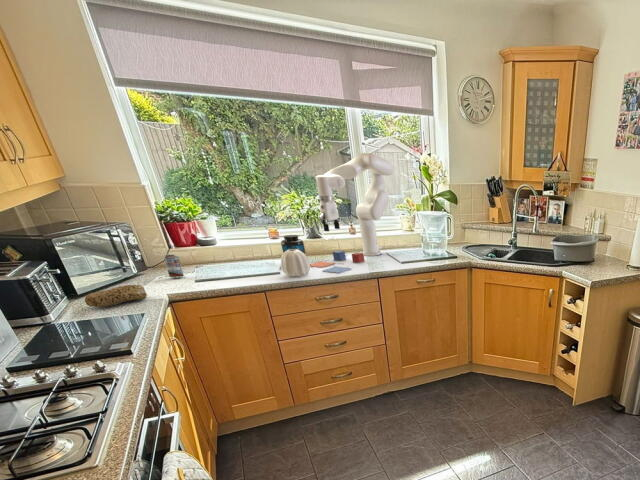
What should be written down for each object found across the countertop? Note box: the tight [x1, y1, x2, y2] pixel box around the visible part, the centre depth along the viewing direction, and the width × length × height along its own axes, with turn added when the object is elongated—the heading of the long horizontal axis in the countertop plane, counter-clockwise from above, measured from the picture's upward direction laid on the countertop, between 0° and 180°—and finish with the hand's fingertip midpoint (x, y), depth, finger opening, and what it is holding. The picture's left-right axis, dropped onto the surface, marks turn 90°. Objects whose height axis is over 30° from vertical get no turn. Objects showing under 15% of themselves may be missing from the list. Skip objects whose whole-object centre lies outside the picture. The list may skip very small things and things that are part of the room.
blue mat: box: [322, 266, 352, 274], centre depth 236 cm, size 11×11×1 cm
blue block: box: [332, 250, 347, 262], centre depth 259 cm, size 5×5×5 cm
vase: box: [280, 249, 311, 277], centre depth 222 cm, size 14×14×13 cm
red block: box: [351, 252, 365, 264], centre depth 255 cm, size 5×5×5 cm
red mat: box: [309, 261, 336, 269], centre depth 247 cm, size 11×11×1 cm
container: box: [280, 234, 307, 256], centre depth 243 cm, size 12×12×16 cm
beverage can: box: [163, 253, 185, 279], centre depth 213 cm, size 6×7×12 cm
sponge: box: [84, 284, 148, 308], centre depth 177 cm, size 13×8×20 cm
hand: (332, 230), depth 247 cm, fingers open, 9 cm apart
